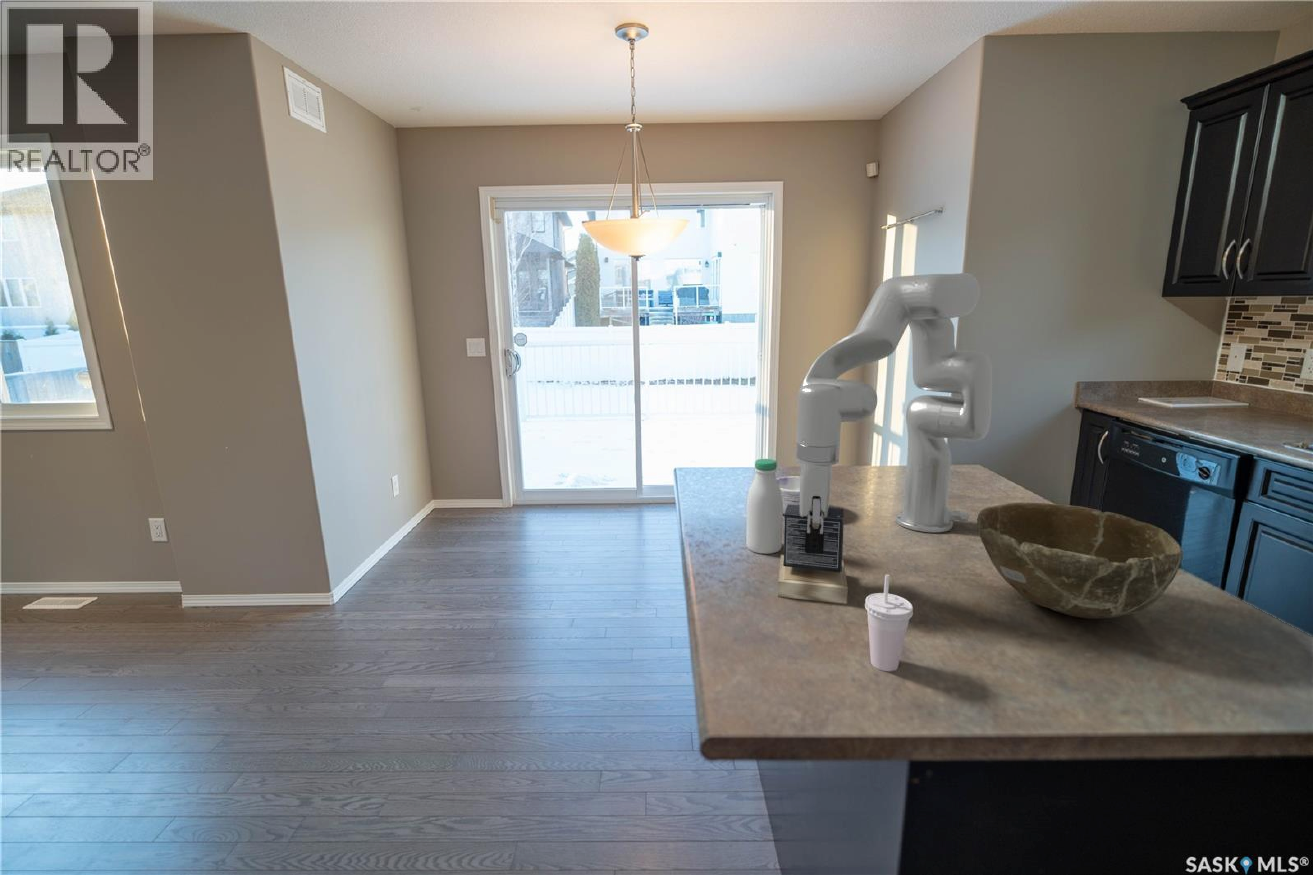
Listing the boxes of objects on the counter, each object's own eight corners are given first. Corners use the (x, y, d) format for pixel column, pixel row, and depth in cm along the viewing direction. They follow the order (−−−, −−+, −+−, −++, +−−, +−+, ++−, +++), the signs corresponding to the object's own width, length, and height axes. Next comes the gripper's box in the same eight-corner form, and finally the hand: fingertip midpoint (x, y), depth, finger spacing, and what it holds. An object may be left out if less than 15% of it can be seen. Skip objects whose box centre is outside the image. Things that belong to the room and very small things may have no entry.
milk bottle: (781, 556, 118) (784, 465, 114) (745, 553, 120) (746, 464, 116) (781, 542, 126) (783, 456, 122) (746, 540, 127) (748, 455, 123)
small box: (842, 559, 106) (845, 507, 104) (841, 574, 100) (844, 518, 98) (786, 552, 109) (787, 502, 107) (782, 566, 103) (783, 513, 101)
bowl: (997, 639, 87) (1008, 549, 84) (955, 566, 112) (962, 496, 109) (1213, 665, 79) (1234, 568, 76) (1116, 581, 105) (1128, 506, 102)
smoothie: (853, 652, 84) (859, 566, 81) (894, 649, 84) (901, 564, 82) (873, 678, 78) (880, 586, 75) (917, 675, 78) (925, 584, 75)
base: (842, 574, 109) (843, 559, 109) (846, 603, 98) (847, 587, 97) (780, 568, 112) (780, 554, 112) (777, 596, 101) (778, 580, 100)
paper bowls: (773, 500, 155) (773, 472, 154) (829, 505, 150) (831, 477, 148) (763, 517, 142) (763, 488, 140) (824, 524, 136) (826, 493, 134)
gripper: (796, 441, 109) (793, 527, 113) (795, 463, 93) (792, 562, 96) (836, 443, 107) (832, 530, 111) (842, 465, 91) (837, 566, 95)
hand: (813, 544), depth 104 cm, fingers closed on small box, 6 cm apart
